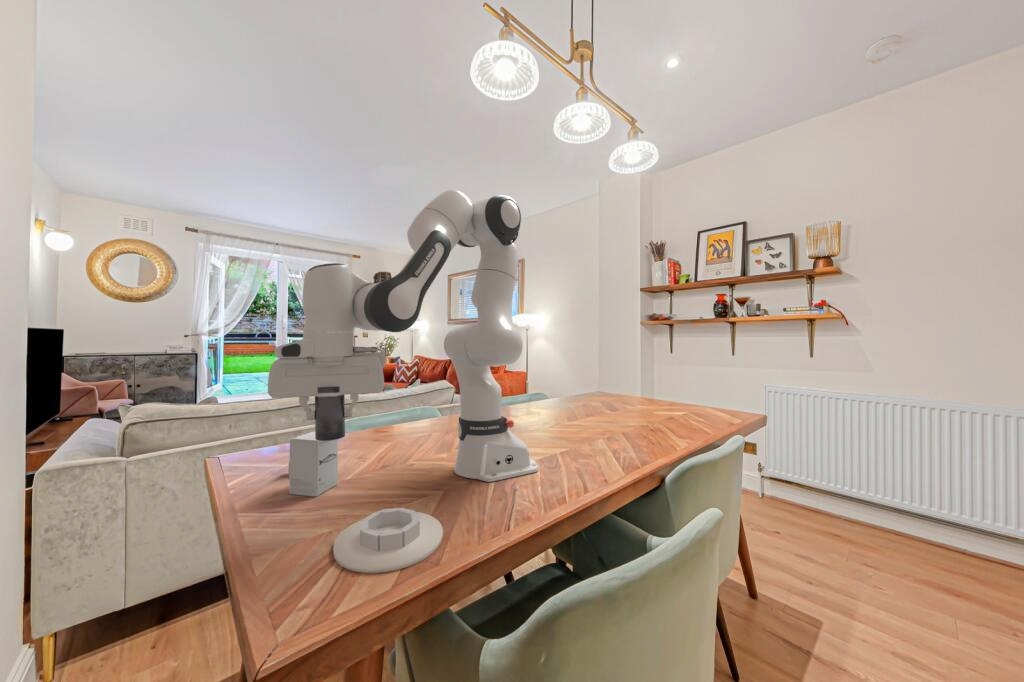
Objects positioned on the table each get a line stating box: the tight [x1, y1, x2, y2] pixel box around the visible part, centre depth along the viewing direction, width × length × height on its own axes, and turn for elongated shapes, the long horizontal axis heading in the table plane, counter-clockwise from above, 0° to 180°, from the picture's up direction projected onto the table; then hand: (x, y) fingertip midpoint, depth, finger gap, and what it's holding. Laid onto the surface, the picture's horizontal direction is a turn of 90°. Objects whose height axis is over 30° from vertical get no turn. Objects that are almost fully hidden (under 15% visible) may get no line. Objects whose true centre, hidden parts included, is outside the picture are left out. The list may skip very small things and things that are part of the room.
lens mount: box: [332, 507, 444, 574], centre depth 66 cm, size 18×18×4 cm
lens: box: [313, 387, 346, 441], centre depth 73 cm, size 5×5×10 cm
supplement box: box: [289, 431, 339, 497], centre depth 87 cm, size 7×7×13 cm
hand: (330, 418), depth 73 cm, fingers closed on lens, 5 cm apart
